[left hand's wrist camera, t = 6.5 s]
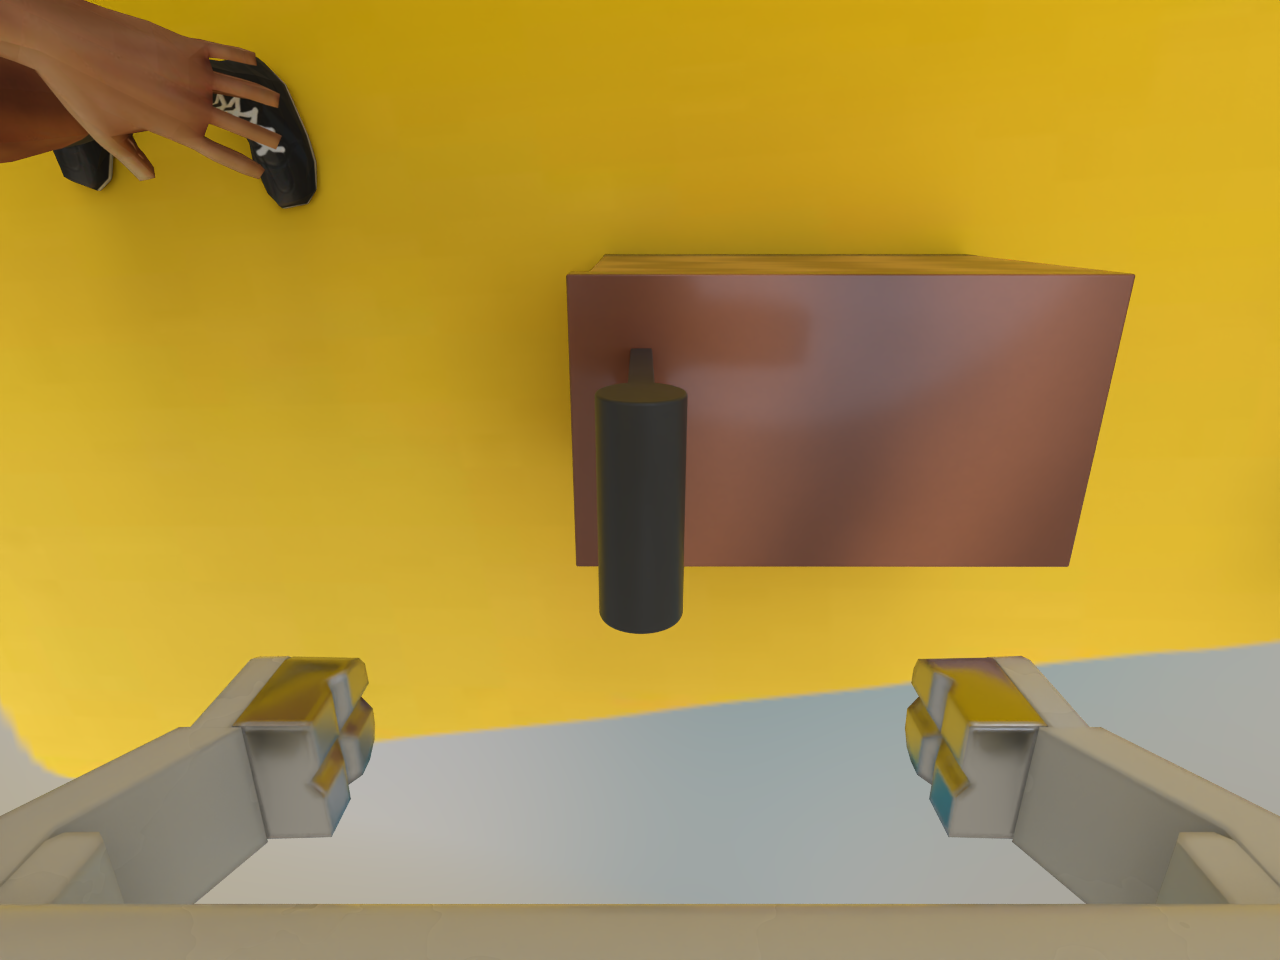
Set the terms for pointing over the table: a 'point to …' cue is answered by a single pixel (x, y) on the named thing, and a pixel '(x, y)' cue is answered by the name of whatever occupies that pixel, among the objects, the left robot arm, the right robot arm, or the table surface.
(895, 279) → the lid
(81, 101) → the figurine
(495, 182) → the table surface
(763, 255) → the chest
